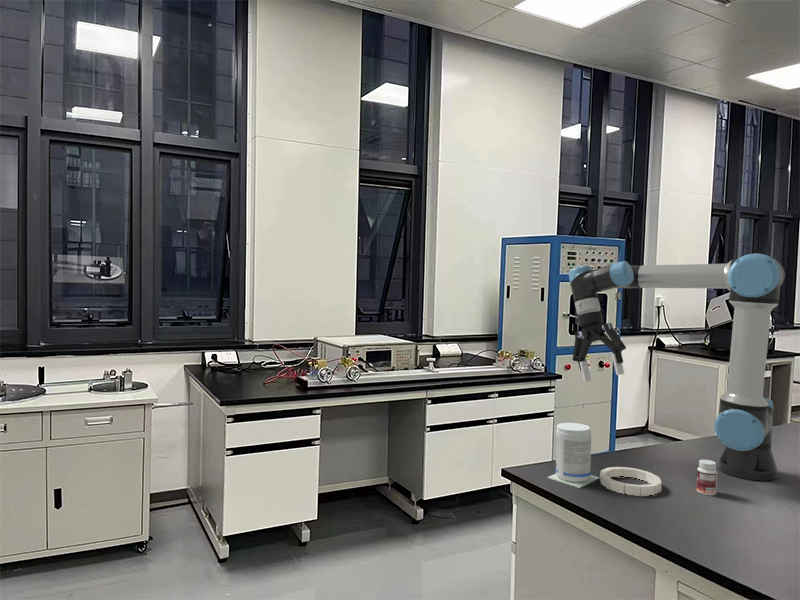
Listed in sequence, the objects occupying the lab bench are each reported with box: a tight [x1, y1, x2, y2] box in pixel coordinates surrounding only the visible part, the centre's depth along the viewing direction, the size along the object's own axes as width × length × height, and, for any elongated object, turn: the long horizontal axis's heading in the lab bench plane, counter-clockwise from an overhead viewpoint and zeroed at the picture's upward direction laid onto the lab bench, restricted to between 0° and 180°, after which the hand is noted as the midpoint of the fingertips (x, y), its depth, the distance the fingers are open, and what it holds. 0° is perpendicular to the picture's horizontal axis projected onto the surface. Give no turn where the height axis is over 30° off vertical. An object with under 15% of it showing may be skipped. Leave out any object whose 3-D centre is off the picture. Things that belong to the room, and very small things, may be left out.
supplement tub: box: [555, 422, 592, 482], centre depth 161 cm, size 10×10×15 cm
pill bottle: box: [696, 459, 718, 496], centre depth 152 cm, size 5×5×8 cm
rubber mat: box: [547, 473, 600, 489], centre depth 161 cm, size 10×11×1 cm
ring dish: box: [599, 466, 663, 497], centre depth 157 cm, size 16×16×2 cm
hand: (603, 378), depth 179 cm, fingers open, 13 cm apart
